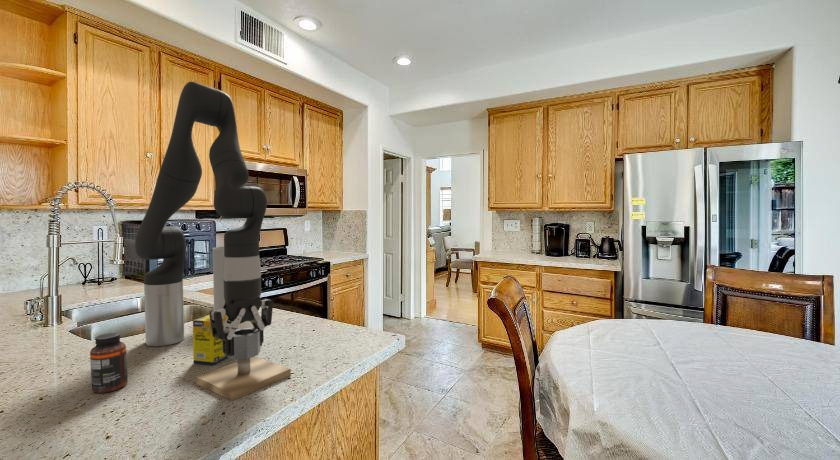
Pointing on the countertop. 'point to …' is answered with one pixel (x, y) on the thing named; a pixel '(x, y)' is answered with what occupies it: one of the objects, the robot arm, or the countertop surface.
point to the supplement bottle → (108, 363)
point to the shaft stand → (242, 377)
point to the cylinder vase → (218, 277)
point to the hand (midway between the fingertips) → (243, 350)
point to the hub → (246, 343)
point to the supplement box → (206, 342)
